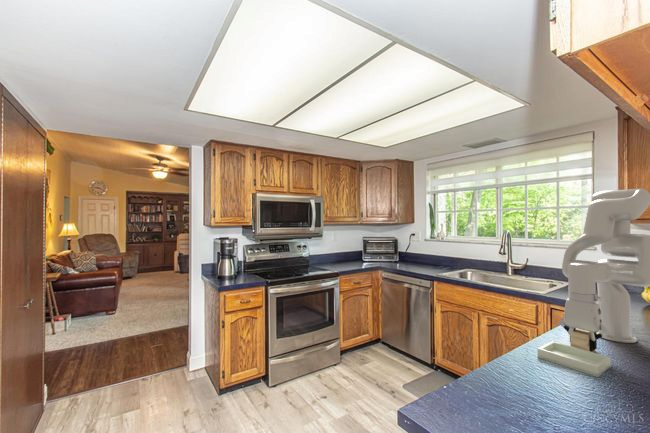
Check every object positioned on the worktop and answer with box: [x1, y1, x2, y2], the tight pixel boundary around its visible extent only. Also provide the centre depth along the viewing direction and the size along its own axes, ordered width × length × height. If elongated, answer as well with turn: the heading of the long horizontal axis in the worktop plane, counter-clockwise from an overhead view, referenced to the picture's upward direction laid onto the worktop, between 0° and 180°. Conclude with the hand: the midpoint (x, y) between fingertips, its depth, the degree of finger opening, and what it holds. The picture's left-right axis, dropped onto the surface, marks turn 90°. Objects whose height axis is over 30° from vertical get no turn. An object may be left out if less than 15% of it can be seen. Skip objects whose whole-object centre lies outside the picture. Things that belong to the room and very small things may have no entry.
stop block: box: [569, 328, 596, 353], centre depth 108 cm, size 9×4×7 cm, turn 123°
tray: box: [536, 340, 612, 378], centre depth 100 cm, size 12×16×3 cm
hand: (583, 347), depth 108 cm, fingers closed on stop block, 4 cm apart
